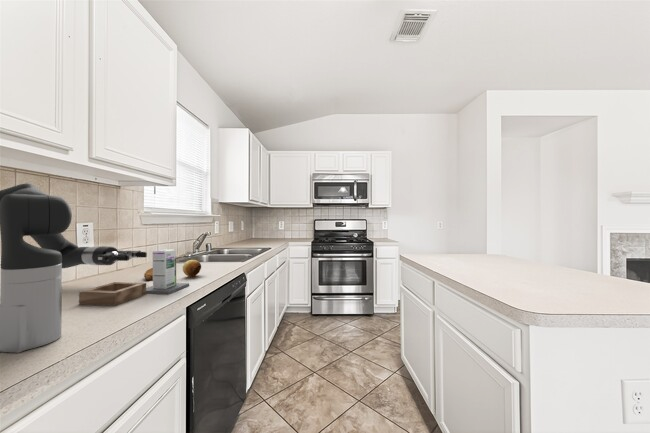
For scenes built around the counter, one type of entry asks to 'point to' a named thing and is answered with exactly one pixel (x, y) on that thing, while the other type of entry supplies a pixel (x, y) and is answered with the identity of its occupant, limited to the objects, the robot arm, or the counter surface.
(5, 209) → the robot arm
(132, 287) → the walnut holder
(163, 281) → the syrup box
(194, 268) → the fruit
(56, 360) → the counter surface
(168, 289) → the charcoal mat
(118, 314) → the counter surface
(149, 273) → the croissant
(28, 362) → the counter surface
